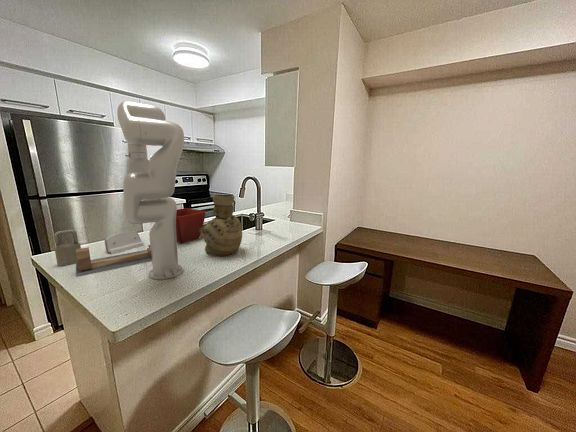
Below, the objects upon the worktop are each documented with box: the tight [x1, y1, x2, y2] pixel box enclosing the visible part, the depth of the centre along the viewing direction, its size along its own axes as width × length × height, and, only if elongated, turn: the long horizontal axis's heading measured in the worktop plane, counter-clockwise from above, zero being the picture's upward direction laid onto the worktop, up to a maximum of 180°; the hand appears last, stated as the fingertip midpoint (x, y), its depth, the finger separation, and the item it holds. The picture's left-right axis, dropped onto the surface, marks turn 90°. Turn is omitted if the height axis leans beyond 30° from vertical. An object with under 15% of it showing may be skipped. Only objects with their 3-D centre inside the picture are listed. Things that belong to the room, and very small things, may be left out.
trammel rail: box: [91, 244, 151, 268], centre depth 108 cm, size 9×30×3 cm, turn 131°
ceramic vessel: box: [199, 194, 243, 258], centre depth 120 cm, size 19×21×30 cm
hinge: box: [104, 230, 145, 256], centre depth 125 cm, size 17×5×10 cm, turn 151°
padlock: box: [53, 229, 82, 267], centre depth 105 cm, size 4×8×15 cm, turn 144°
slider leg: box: [76, 246, 92, 271], centre depth 99 cm, size 9×4×8 cm, turn 41°
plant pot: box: [176, 207, 206, 244], centre depth 142 cm, size 19×19×17 cm
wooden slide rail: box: [75, 249, 152, 277], centre depth 109 cm, size 14×32×1 cm, turn 131°
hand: (142, 194), depth 118 cm, fingers closed
